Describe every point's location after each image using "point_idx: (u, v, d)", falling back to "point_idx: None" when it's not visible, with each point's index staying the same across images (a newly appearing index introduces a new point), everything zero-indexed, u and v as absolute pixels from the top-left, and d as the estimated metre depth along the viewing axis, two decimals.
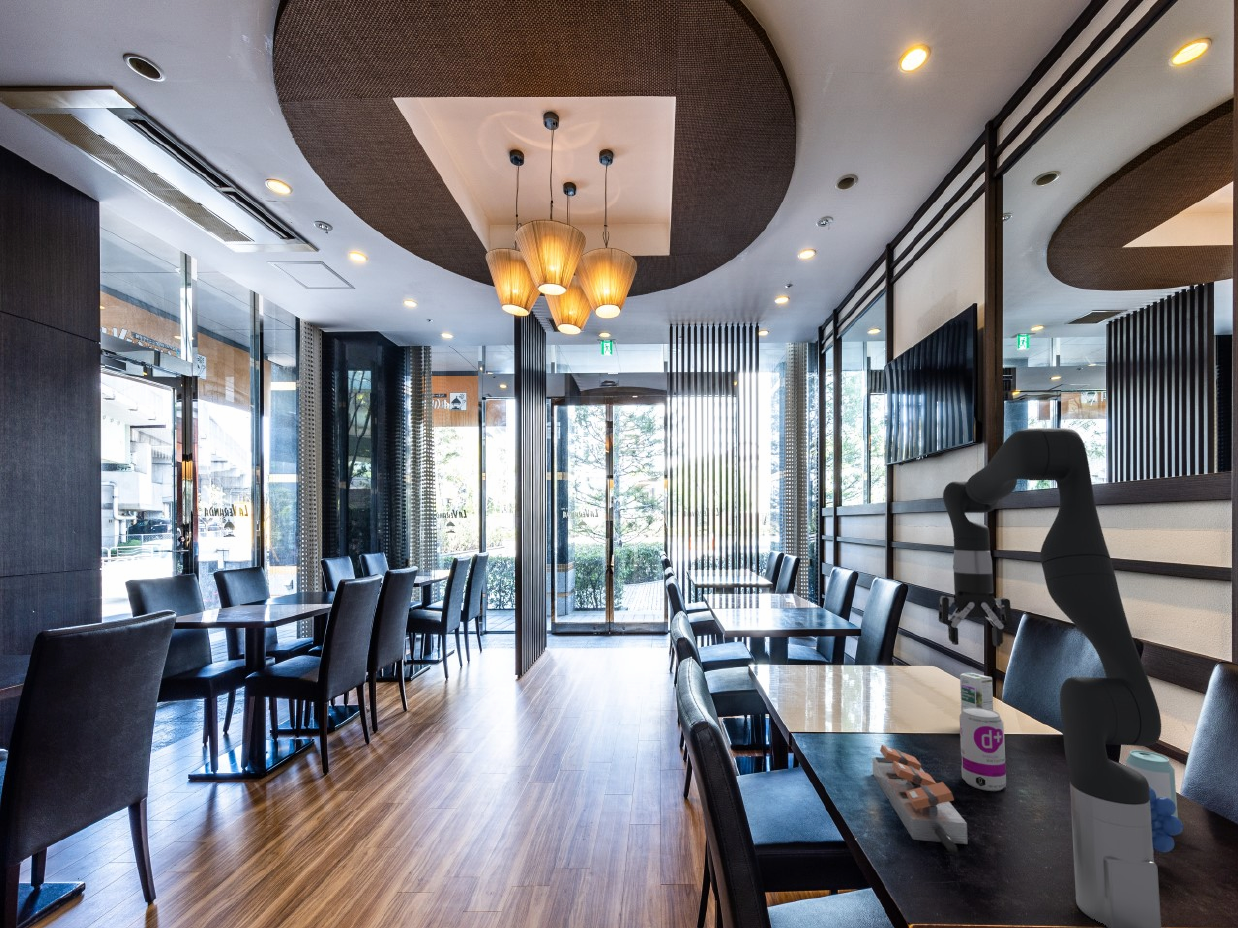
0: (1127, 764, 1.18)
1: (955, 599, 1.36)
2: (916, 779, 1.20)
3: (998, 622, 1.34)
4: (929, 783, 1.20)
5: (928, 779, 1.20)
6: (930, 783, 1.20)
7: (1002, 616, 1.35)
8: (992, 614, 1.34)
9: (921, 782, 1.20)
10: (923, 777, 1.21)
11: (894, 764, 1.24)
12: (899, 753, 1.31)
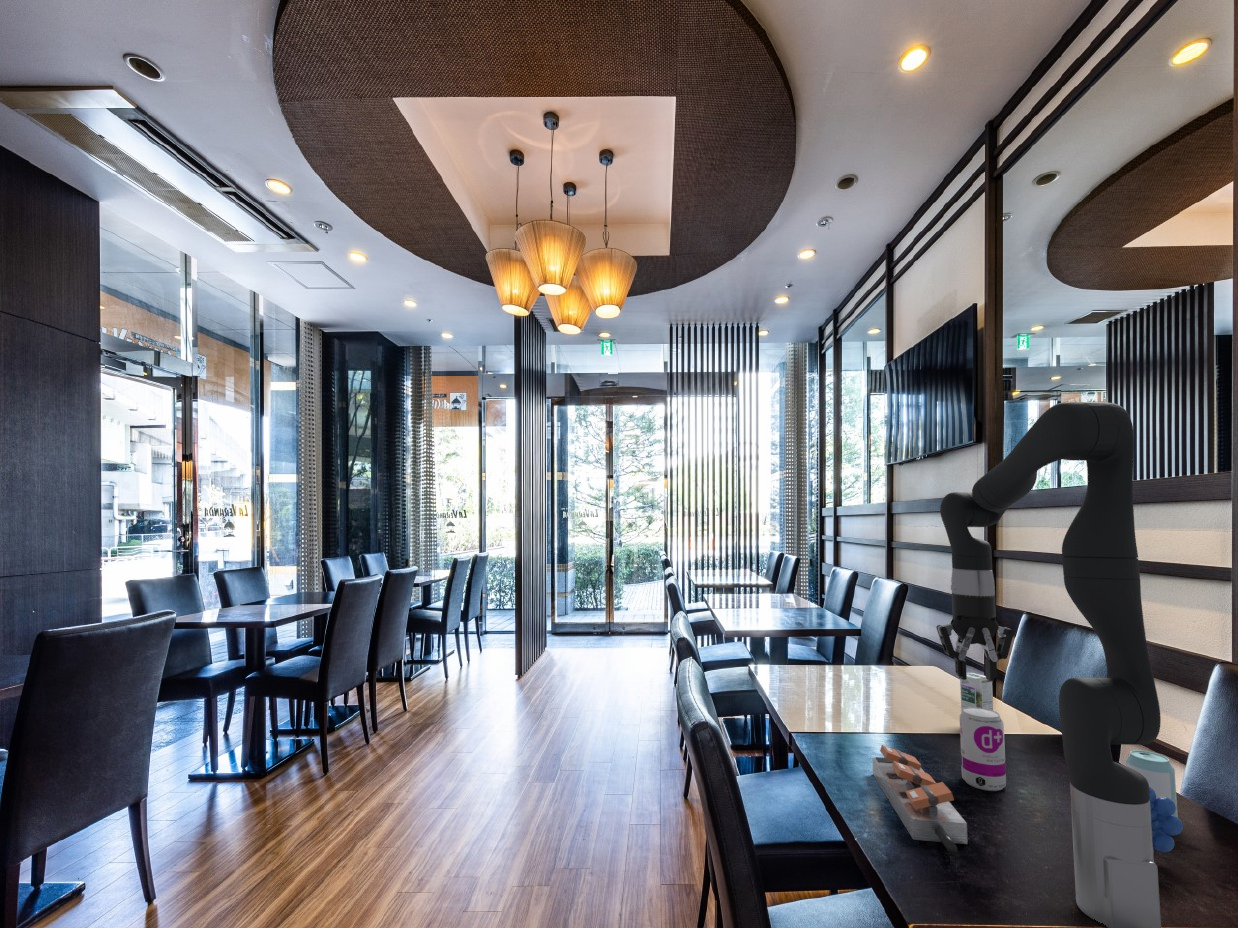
0: (1127, 764, 1.18)
1: (953, 625, 1.22)
2: (916, 779, 1.20)
3: (992, 654, 1.20)
4: (929, 783, 1.20)
5: (928, 779, 1.20)
6: (930, 783, 1.20)
7: (999, 646, 1.22)
8: (990, 643, 1.20)
9: (921, 782, 1.20)
10: (923, 777, 1.21)
11: (894, 764, 1.24)
12: (899, 753, 1.31)
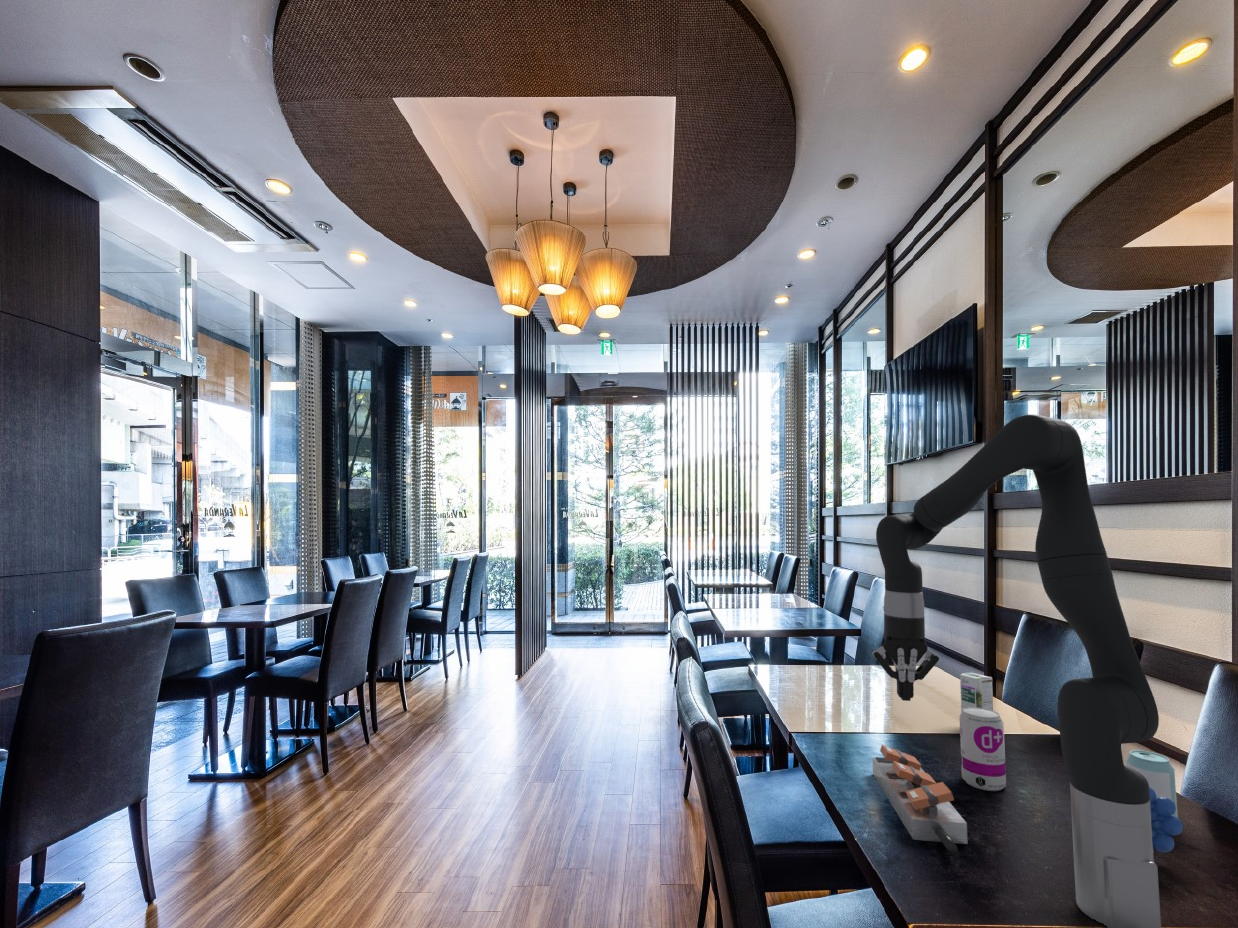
0: (1127, 764, 1.18)
1: (884, 647, 1.25)
2: (916, 779, 1.20)
3: (909, 674, 1.23)
4: (929, 783, 1.20)
5: (928, 779, 1.20)
6: (930, 783, 1.20)
7: (919, 668, 1.25)
8: (913, 664, 1.23)
9: (921, 782, 1.20)
10: (923, 777, 1.21)
11: (894, 764, 1.24)
12: (899, 753, 1.31)
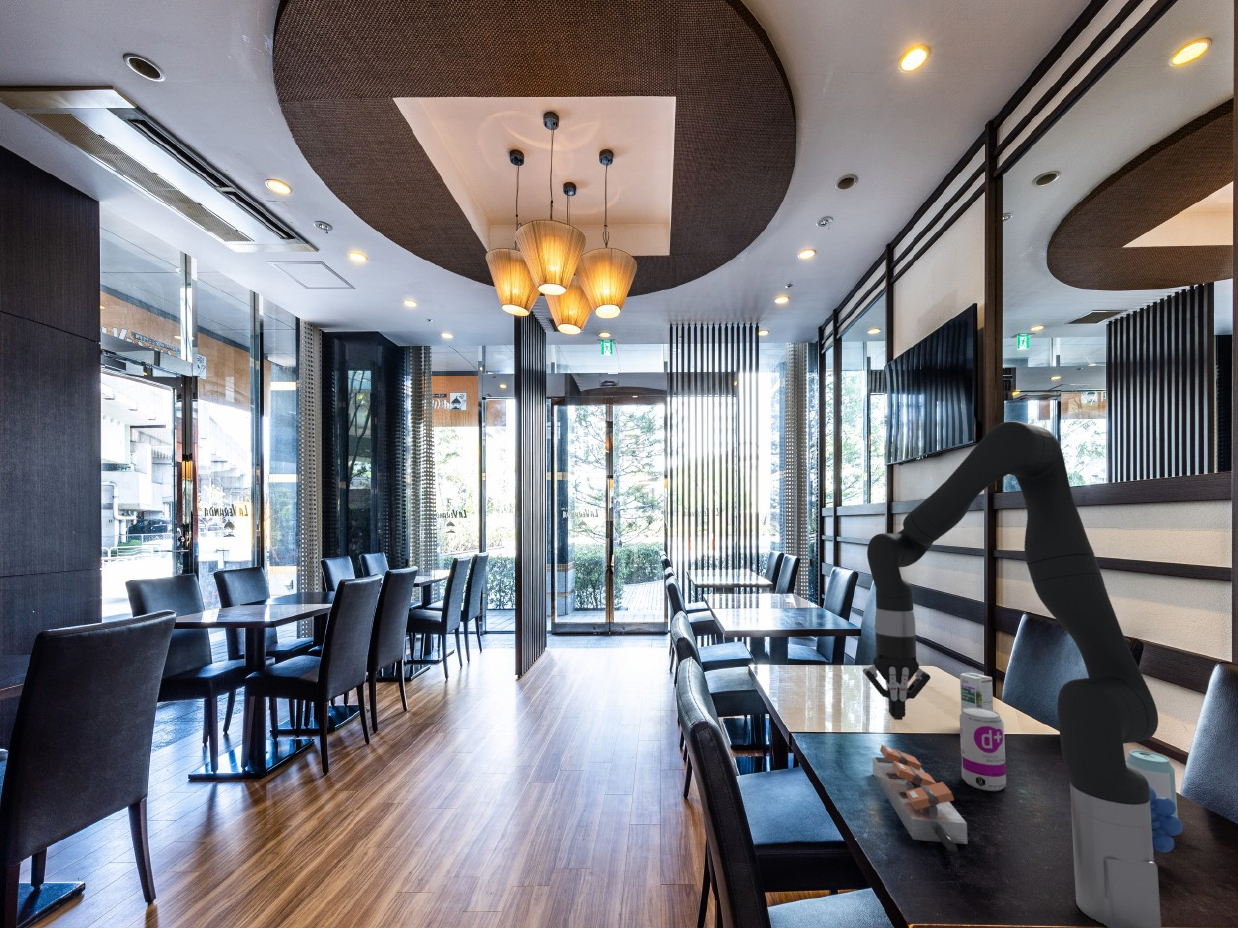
0: (1127, 764, 1.18)
1: (876, 666, 1.24)
2: (916, 779, 1.20)
3: (900, 693, 1.23)
4: (929, 783, 1.20)
5: (928, 779, 1.20)
6: (930, 783, 1.20)
7: (911, 686, 1.24)
8: (905, 683, 1.22)
9: (921, 782, 1.20)
10: (923, 777, 1.21)
11: (894, 764, 1.24)
12: (899, 753, 1.31)
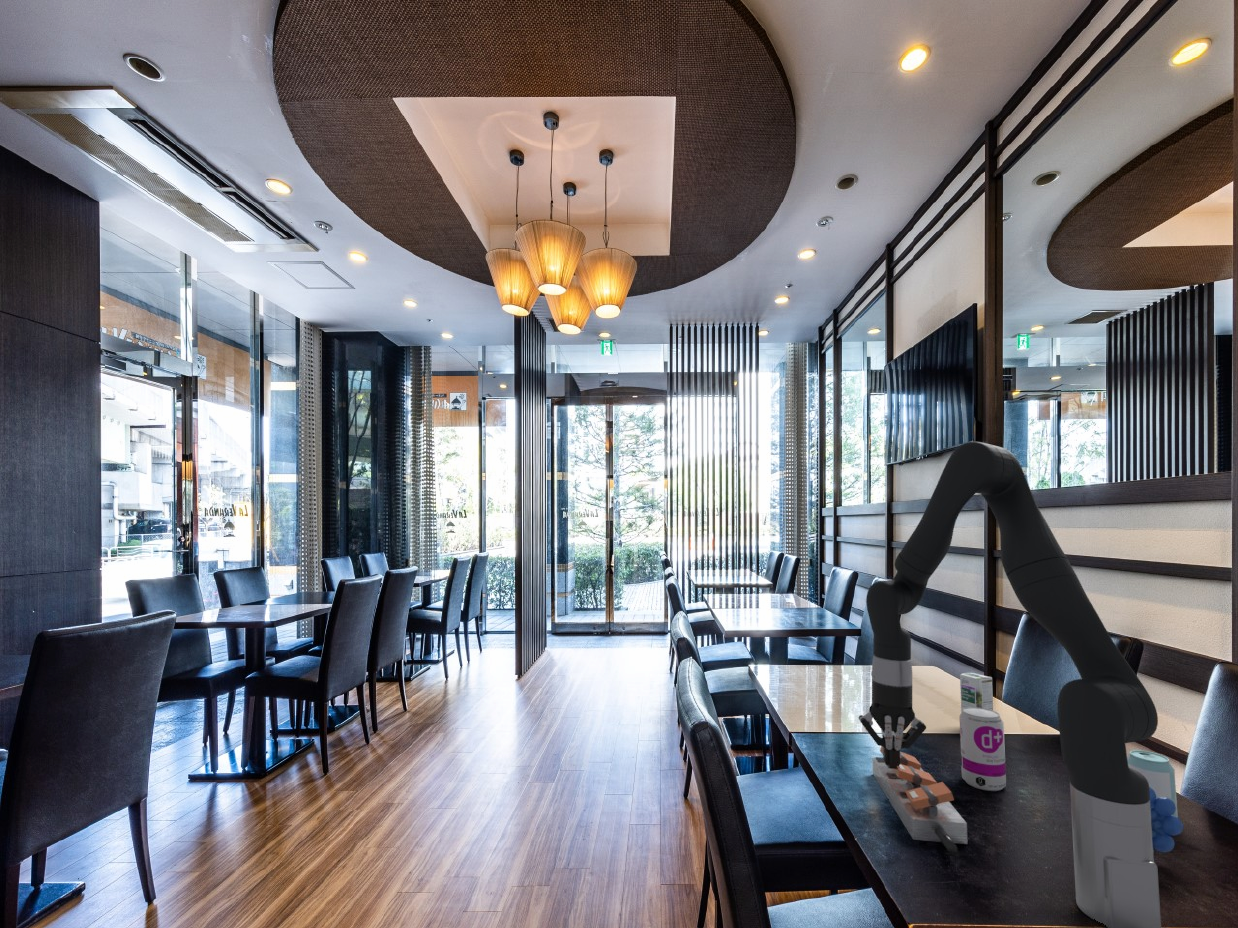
0: None
1: (872, 714, 1.24)
2: (916, 779, 1.20)
3: (895, 742, 1.22)
4: (929, 783, 1.20)
5: (928, 778, 1.20)
6: (930, 782, 1.20)
7: (906, 735, 1.24)
8: (900, 732, 1.22)
9: (921, 782, 1.20)
10: (923, 777, 1.21)
11: None
12: None
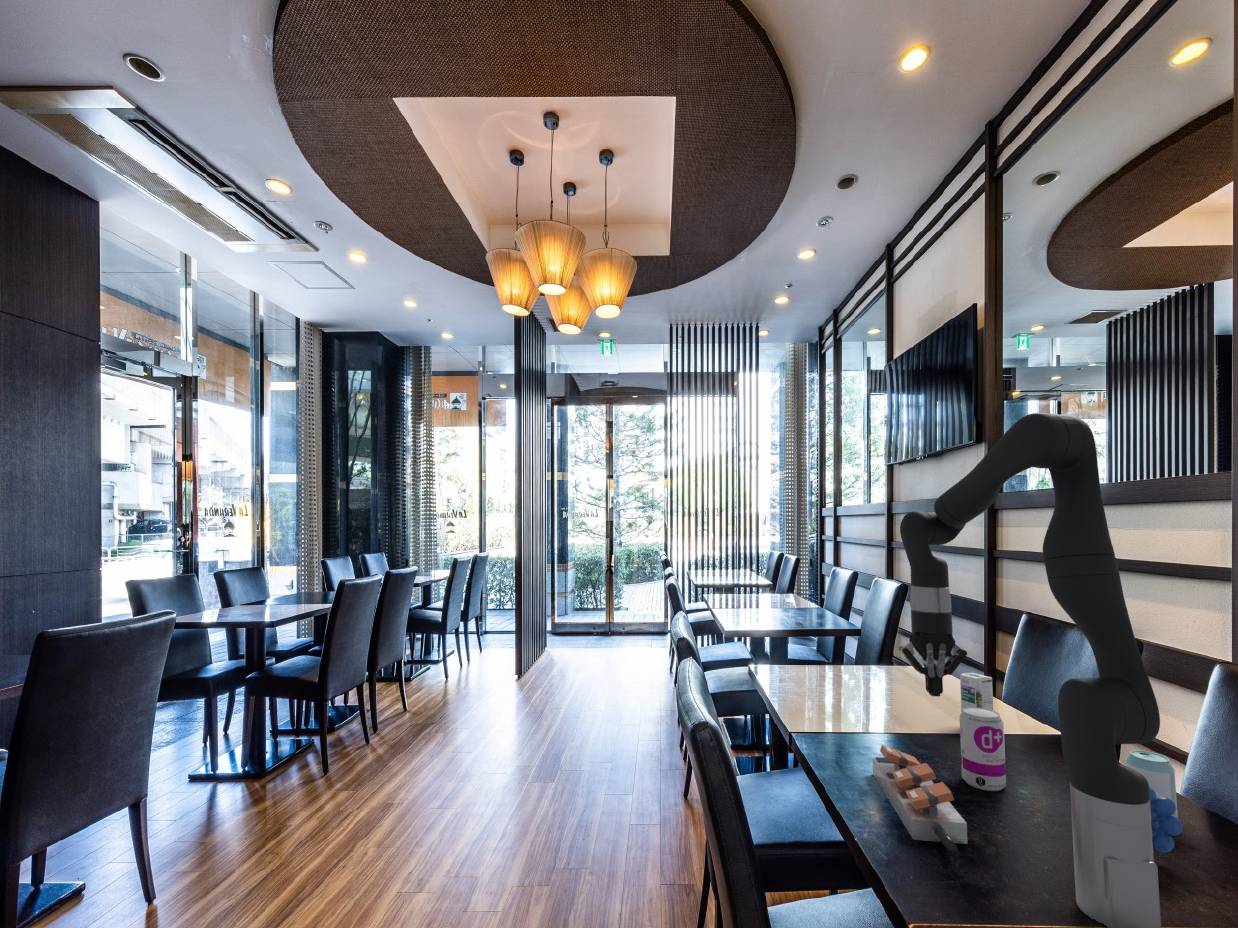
0: (1127, 764, 1.18)
1: (913, 643, 1.25)
2: (915, 779, 1.20)
3: (938, 670, 1.24)
4: (928, 776, 1.20)
5: (925, 772, 1.21)
6: (929, 775, 1.20)
7: (947, 663, 1.25)
8: (942, 659, 1.23)
9: (922, 779, 1.20)
10: (921, 773, 1.21)
11: (893, 775, 1.24)
12: (899, 753, 1.31)
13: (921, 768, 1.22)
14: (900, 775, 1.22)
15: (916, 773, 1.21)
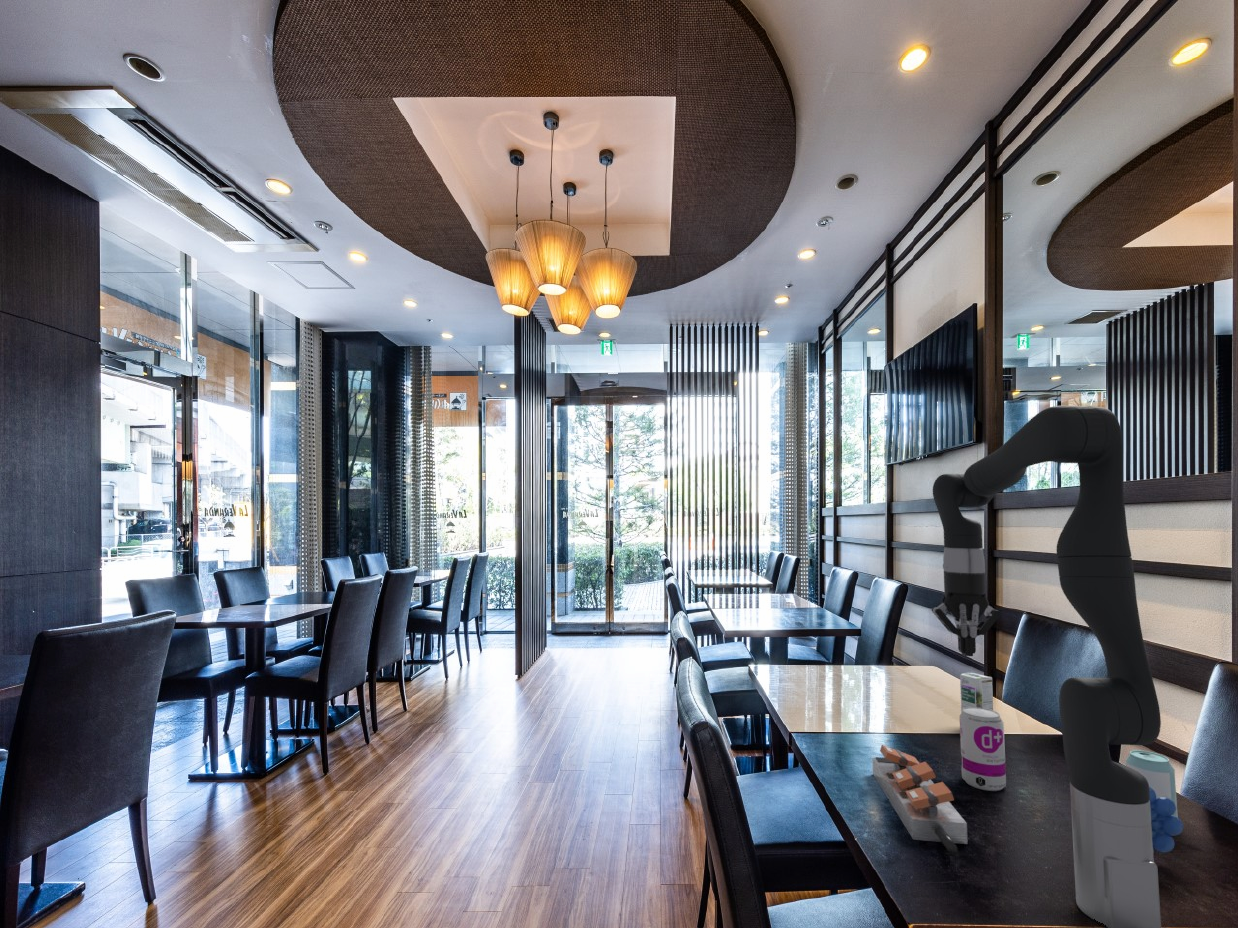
0: (1127, 764, 1.18)
1: (946, 604, 1.26)
2: (916, 779, 1.20)
3: (971, 630, 1.25)
4: (928, 775, 1.20)
5: (925, 771, 1.21)
6: (928, 774, 1.20)
7: (980, 624, 1.26)
8: (975, 619, 1.24)
9: (922, 779, 1.20)
10: (920, 772, 1.21)
11: (894, 777, 1.24)
12: (899, 753, 1.31)
13: (920, 767, 1.23)
14: (900, 776, 1.22)
15: (916, 773, 1.21)
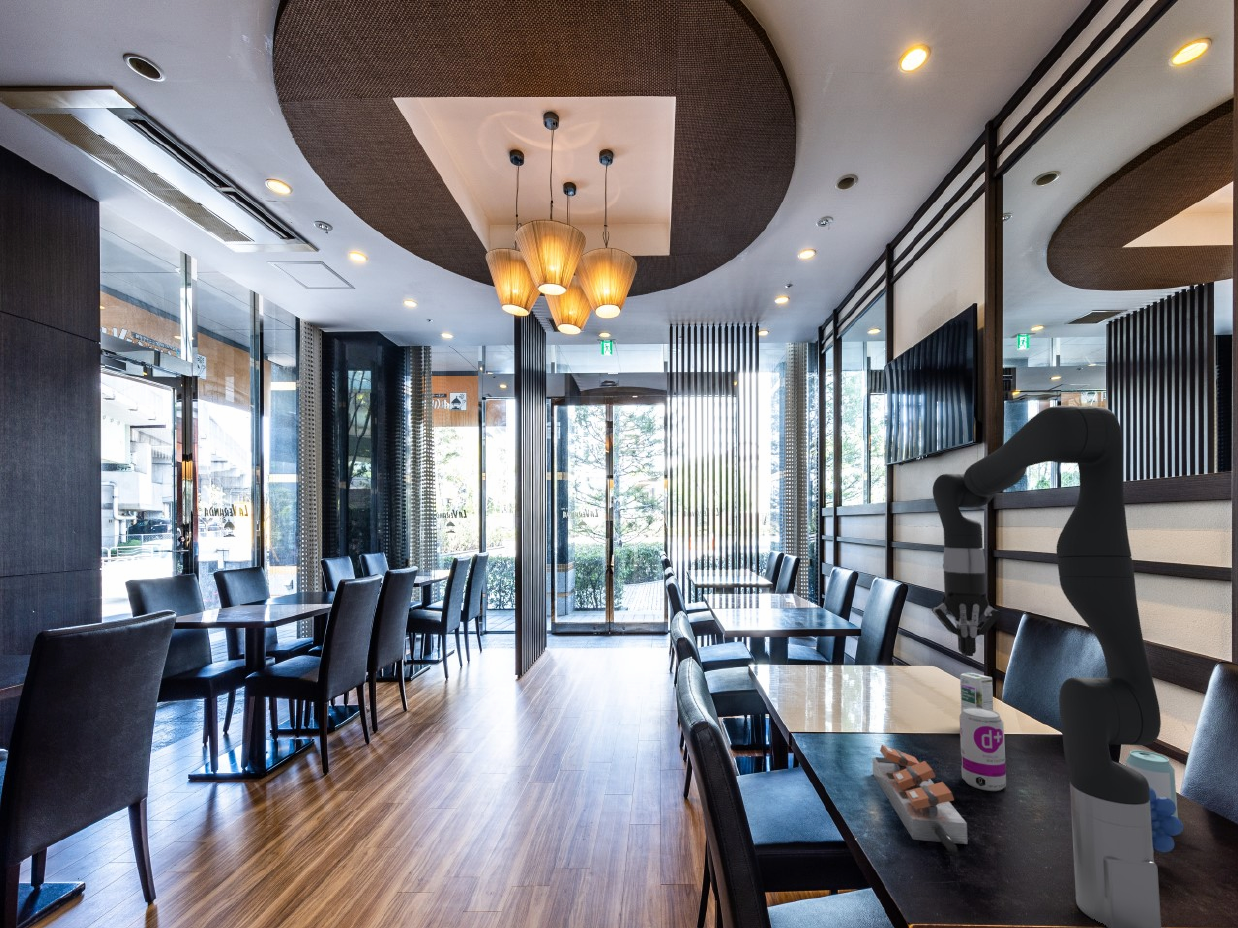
0: (1127, 764, 1.18)
1: (946, 604, 1.26)
2: (916, 780, 1.20)
3: (971, 630, 1.25)
4: (927, 774, 1.20)
5: (924, 770, 1.21)
6: (928, 773, 1.20)
7: (980, 624, 1.26)
8: (975, 619, 1.24)
9: (921, 779, 1.20)
10: (920, 772, 1.21)
11: (894, 777, 1.24)
12: (899, 753, 1.31)
13: (920, 767, 1.23)
14: (900, 777, 1.22)
15: (915, 773, 1.21)
